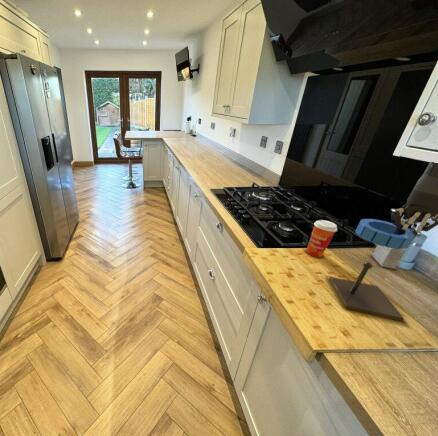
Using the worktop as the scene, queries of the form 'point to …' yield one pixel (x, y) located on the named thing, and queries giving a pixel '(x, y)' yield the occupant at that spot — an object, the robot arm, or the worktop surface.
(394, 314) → the brown peg stand
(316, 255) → the paper cup
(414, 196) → the robot arm
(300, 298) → the worktop surface
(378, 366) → the worktop surface
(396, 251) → the medicine box
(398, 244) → the blue notched ring
